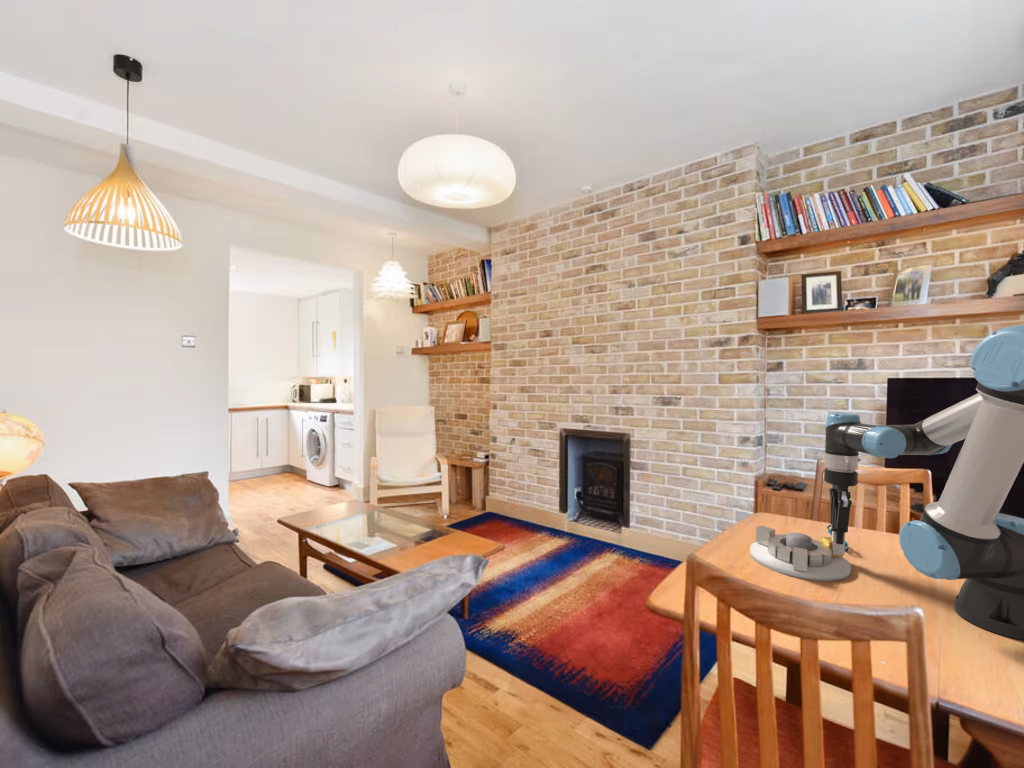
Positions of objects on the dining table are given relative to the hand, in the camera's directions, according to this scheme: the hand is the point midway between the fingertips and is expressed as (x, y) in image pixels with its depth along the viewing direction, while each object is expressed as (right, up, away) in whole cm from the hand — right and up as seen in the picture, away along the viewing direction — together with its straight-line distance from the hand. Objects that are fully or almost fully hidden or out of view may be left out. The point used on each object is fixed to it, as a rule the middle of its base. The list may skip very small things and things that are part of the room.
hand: (837, 553), depth 129 cm
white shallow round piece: (-10, -3, +2) cm, 10 cm away
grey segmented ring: (-8, -1, +2) cm, 8 cm away
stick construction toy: (+7, -3, +13) cm, 16 cm away
